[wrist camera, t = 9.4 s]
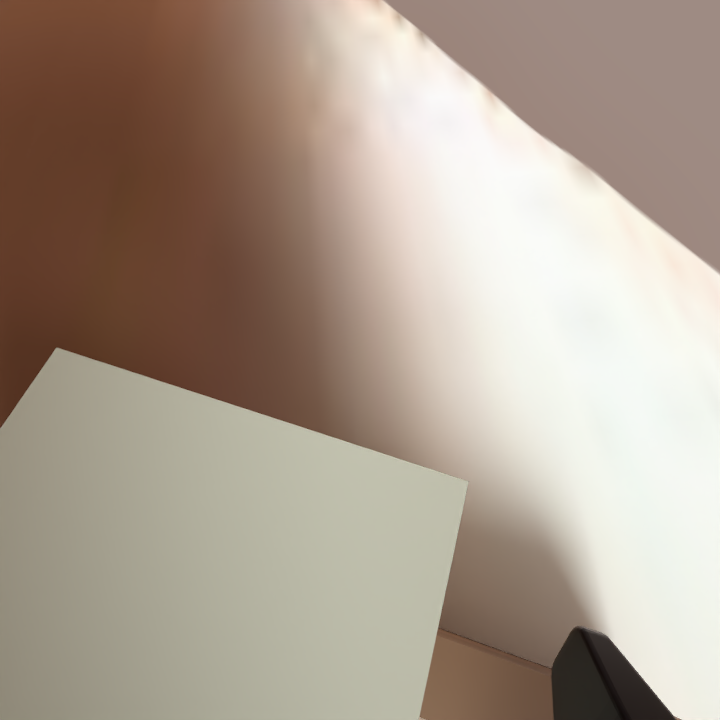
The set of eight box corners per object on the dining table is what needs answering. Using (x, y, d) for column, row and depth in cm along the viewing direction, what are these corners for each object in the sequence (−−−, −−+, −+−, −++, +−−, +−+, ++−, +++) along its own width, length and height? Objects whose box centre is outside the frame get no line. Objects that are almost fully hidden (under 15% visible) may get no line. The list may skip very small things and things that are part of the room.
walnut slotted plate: (627, 696, 13) (754, 750, 9) (624, 758, 13) (758, 846, 9) (28, 480, 15) (-85, 446, 11) (0, 525, 15) (-132, 506, 11)
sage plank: (324, 699, 13) (174, 1894, 1) (227, 662, 13) (-630, 1340, 2) (366, 555, 15) (468, 482, 3) (279, 525, 15) (57, 348, 3)
